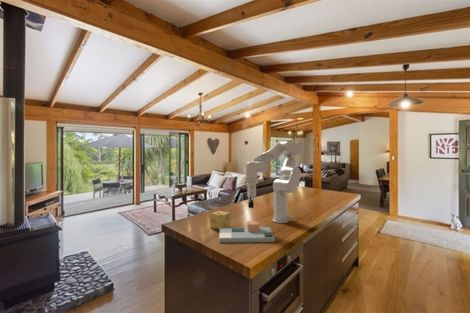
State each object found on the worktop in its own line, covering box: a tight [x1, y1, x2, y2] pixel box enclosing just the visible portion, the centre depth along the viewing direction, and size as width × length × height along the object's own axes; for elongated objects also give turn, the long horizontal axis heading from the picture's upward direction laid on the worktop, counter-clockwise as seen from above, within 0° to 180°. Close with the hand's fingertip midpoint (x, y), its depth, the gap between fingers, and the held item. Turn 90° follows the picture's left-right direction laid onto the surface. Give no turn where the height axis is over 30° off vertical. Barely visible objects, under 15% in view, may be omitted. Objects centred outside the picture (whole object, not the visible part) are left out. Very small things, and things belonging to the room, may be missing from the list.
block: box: [246, 220, 260, 232], centre depth 147 cm, size 7×7×4 cm
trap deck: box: [218, 226, 276, 243], centre depth 142 cm, size 32×18×2 cm, turn 93°
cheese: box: [209, 210, 232, 231], centre depth 159 cm, size 10×11×10 cm
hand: (250, 207), depth 155 cm, fingers closed
